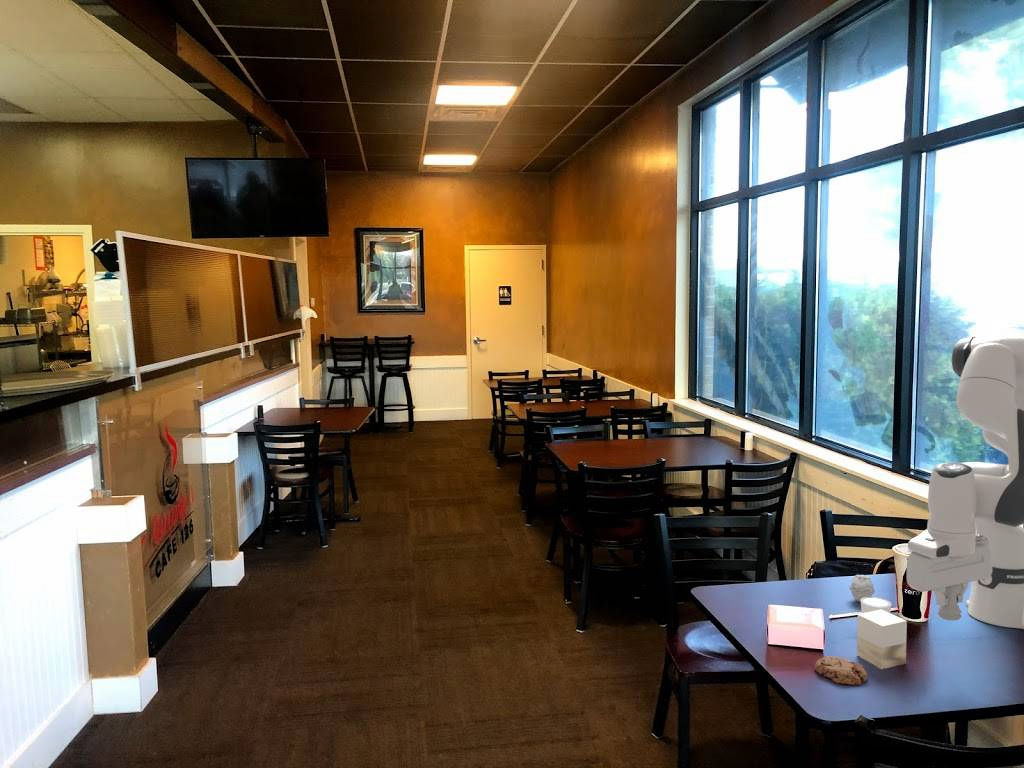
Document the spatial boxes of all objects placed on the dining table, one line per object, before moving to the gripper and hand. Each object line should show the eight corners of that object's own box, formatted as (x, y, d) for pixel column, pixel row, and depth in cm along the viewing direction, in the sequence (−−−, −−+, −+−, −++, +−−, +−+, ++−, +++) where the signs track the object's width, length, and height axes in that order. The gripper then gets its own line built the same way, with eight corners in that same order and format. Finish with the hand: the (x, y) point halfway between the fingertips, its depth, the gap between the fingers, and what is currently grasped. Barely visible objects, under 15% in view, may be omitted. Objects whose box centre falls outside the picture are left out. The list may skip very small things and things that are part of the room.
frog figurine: (875, 599, 205) (876, 573, 205) (872, 607, 199) (873, 582, 199) (851, 595, 208) (851, 570, 208) (847, 603, 202) (848, 578, 202)
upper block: (880, 630, 175) (881, 609, 174) (906, 642, 168) (906, 620, 168) (857, 635, 172) (857, 614, 172) (882, 648, 166) (882, 626, 165)
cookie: (818, 661, 171) (818, 648, 171) (869, 671, 166) (870, 658, 166) (810, 680, 163) (810, 666, 163) (864, 691, 158) (864, 677, 157)
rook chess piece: (957, 612, 163) (958, 577, 162) (964, 621, 159) (965, 585, 158) (934, 611, 164) (935, 576, 163) (941, 620, 160) (942, 584, 159)
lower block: (880, 650, 175) (881, 630, 175) (905, 664, 169) (906, 642, 168) (856, 656, 173) (857, 635, 172) (881, 669, 166) (881, 647, 166)
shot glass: (894, 635, 182) (895, 607, 182) (863, 634, 184) (864, 606, 183) (886, 624, 189) (886, 597, 188) (856, 622, 191) (857, 595, 190)
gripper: (974, 529, 166) (973, 590, 168) (901, 543, 160) (900, 606, 161) (1001, 537, 160) (999, 600, 162) (926, 552, 154) (925, 617, 155)
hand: (949, 603), depth 161 cm, fingers closed on rook chess piece, 3 cm apart
